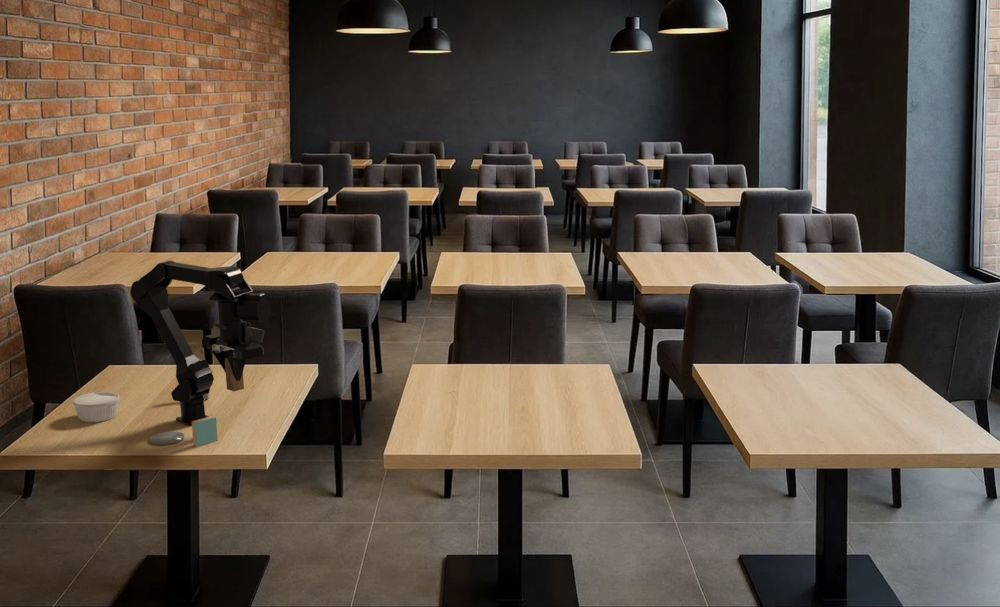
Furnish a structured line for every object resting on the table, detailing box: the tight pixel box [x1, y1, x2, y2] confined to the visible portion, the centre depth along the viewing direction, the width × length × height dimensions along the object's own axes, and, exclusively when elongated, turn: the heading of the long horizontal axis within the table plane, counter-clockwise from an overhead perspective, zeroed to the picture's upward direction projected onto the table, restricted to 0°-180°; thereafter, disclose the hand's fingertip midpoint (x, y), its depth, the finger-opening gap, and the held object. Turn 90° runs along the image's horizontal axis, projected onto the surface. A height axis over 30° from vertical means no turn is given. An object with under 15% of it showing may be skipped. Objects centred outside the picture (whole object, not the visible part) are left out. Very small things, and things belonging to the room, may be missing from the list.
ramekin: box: [72, 391, 121, 423], centre depth 269 cm, size 11×11×5 cm
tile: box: [191, 415, 219, 448], centre depth 250 cm, size 2×6×6 cm, turn 137°
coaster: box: [149, 431, 185, 446], centre depth 253 cm, size 8×8×1 cm
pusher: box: [224, 358, 245, 392], centre depth 259 cm, size 3×3×8 cm
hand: (234, 379), depth 259 cm, fingers closed on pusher, 3 cm apart
